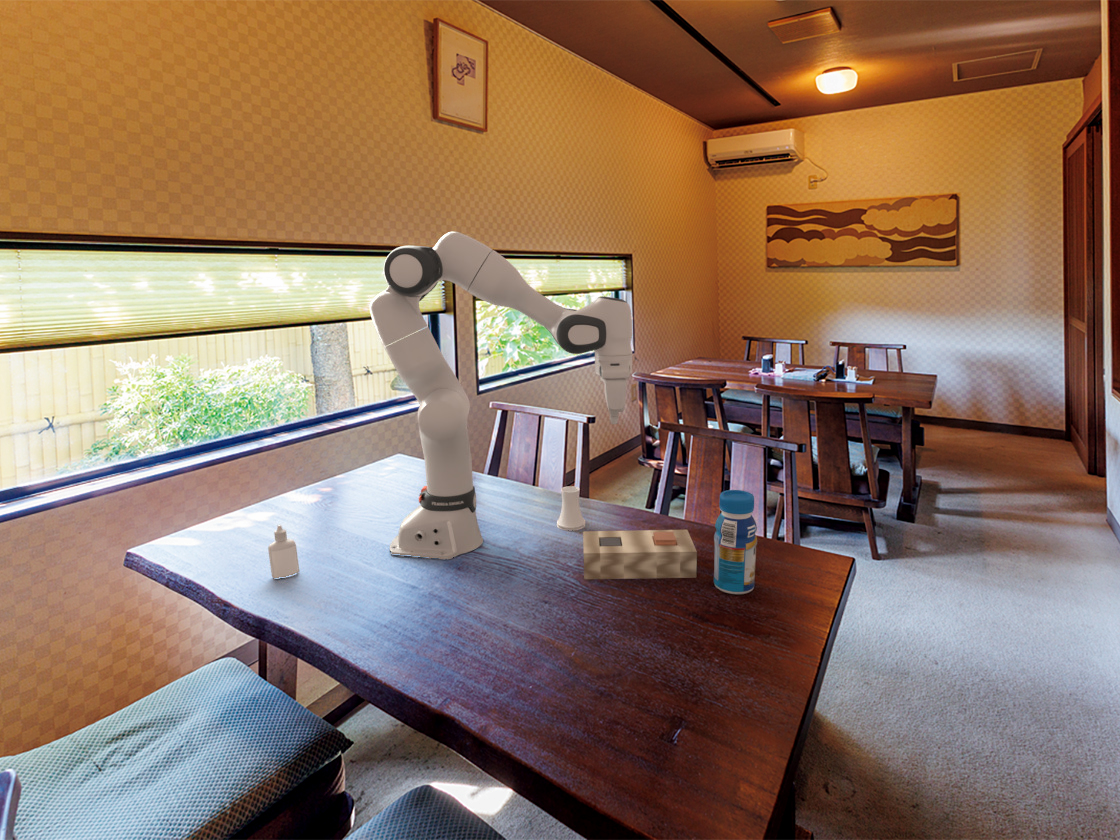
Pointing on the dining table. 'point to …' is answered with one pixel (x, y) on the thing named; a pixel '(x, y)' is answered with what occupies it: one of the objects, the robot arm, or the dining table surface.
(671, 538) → the terracotta plug
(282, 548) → the eye dropper bottle
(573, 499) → the vase
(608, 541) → the charcoal plug
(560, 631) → the dining table surface
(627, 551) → the maple housing
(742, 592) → the beverage bottle
